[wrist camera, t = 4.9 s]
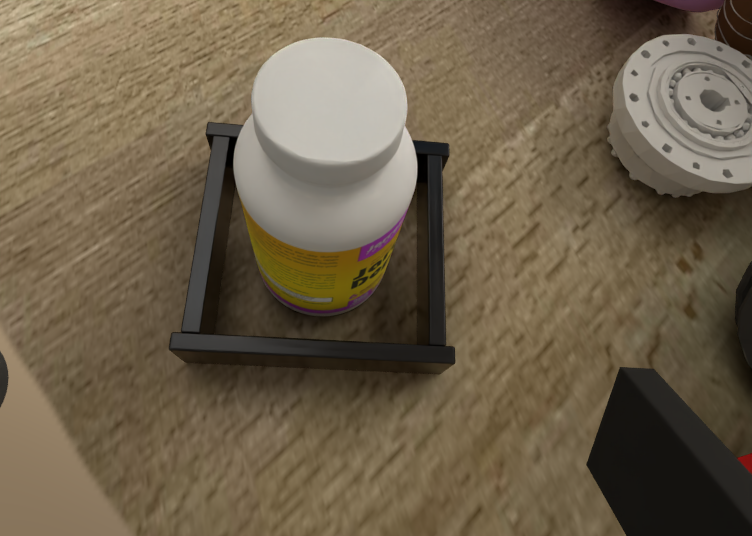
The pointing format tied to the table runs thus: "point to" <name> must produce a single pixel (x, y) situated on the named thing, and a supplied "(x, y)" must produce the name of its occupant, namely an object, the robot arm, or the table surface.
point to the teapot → (694, 4)
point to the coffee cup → (745, 313)
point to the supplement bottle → (325, 173)
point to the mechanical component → (684, 116)
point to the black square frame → (311, 353)
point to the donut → (735, 26)
